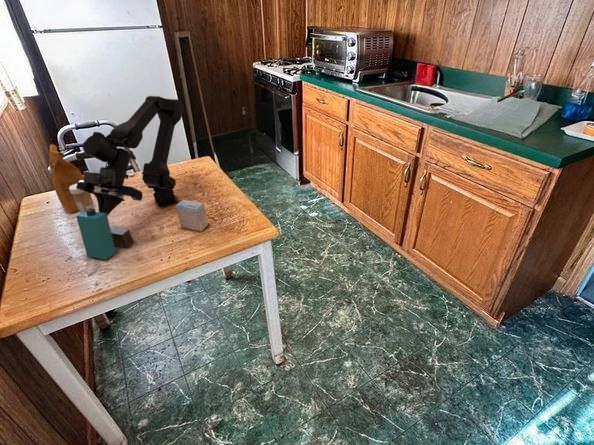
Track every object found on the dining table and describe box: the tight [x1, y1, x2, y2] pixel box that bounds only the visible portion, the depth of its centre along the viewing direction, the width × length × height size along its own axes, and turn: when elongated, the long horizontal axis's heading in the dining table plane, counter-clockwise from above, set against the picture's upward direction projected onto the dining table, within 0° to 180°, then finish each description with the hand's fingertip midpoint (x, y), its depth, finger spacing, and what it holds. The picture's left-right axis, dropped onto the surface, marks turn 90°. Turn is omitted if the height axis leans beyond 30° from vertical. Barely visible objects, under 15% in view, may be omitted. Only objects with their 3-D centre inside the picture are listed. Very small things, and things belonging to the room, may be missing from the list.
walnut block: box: [109, 225, 135, 249], centre depth 101 cm, size 3×10×5 cm, turn 74°
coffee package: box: [48, 143, 94, 213], centre depth 117 cm, size 10×12×22 cm
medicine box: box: [175, 199, 209, 232], centre depth 107 cm, size 8×4×9 cm, turn 71°
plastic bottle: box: [75, 208, 117, 261], centre depth 95 cm, size 10×7×14 cm, turn 164°
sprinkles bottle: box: [69, 184, 97, 214], centre depth 110 cm, size 5×5×14 cm
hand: (101, 218), depth 96 cm, fingers closed
